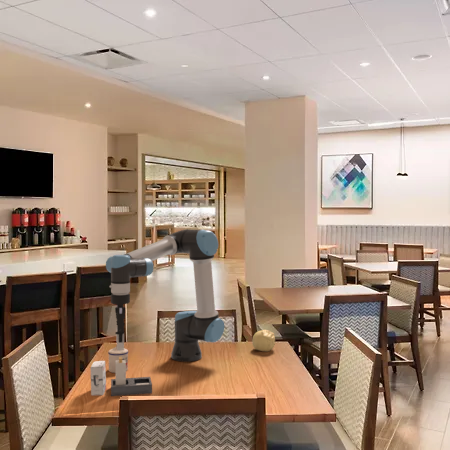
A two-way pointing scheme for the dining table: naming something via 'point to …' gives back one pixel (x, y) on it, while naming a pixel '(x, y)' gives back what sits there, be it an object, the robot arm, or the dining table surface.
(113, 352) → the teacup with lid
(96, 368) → the ink box
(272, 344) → the pale yellow rounded lump
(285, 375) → the dining table surface
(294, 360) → the dining table surface
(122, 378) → the plug
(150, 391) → the console
